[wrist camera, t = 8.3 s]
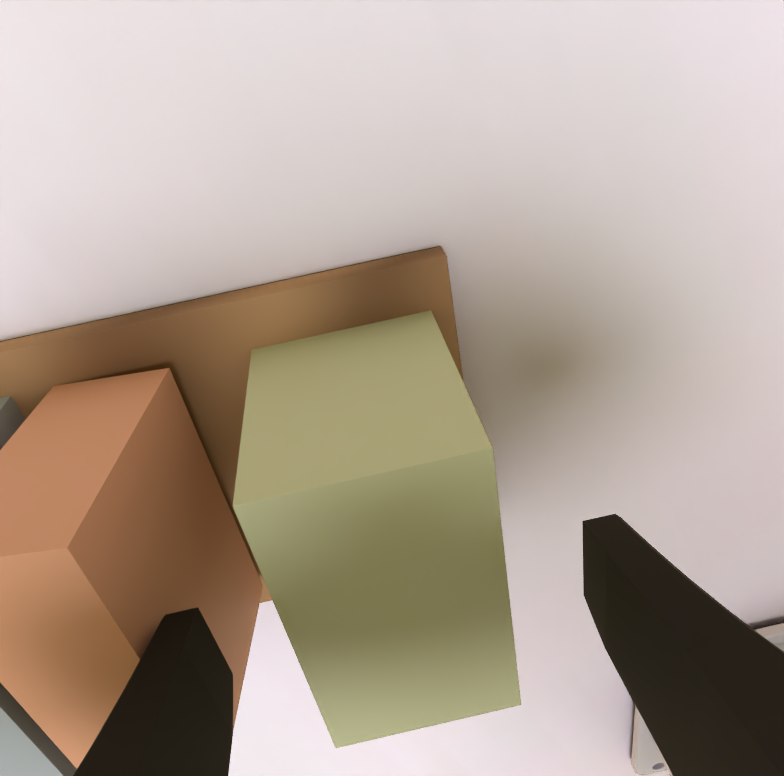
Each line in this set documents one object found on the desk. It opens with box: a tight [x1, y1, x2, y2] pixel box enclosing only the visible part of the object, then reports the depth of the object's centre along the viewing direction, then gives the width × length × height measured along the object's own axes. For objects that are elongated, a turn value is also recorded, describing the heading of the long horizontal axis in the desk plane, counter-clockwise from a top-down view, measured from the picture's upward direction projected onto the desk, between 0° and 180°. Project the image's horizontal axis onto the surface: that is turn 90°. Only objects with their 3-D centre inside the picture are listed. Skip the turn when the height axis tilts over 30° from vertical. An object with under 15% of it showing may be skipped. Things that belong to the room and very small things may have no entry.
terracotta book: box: [0, 368, 263, 768], centre depth 13 cm, size 3×7×5 cm, turn 10°
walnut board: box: [0, 246, 463, 603], centre depth 16 cm, size 16×9×1 cm, turn 100°
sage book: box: [233, 310, 521, 748], centre depth 13 cm, size 4×7×5 cm, turn 10°
